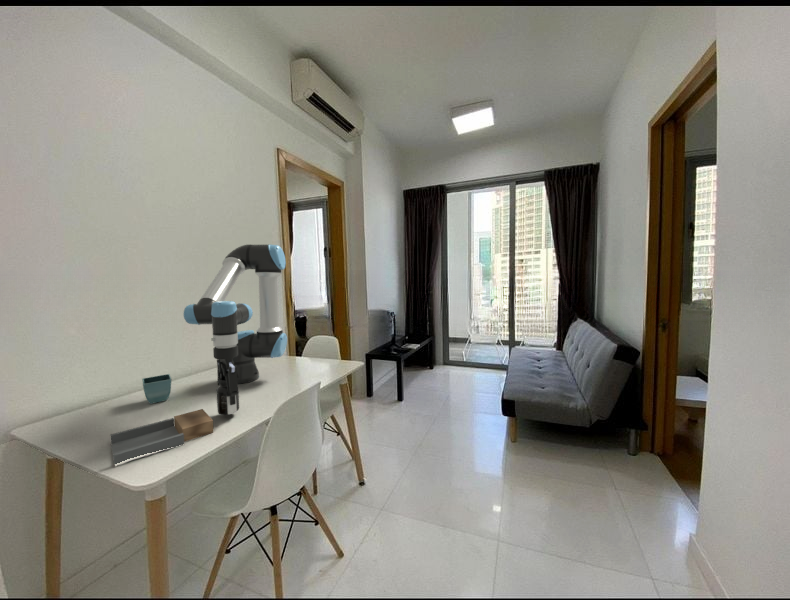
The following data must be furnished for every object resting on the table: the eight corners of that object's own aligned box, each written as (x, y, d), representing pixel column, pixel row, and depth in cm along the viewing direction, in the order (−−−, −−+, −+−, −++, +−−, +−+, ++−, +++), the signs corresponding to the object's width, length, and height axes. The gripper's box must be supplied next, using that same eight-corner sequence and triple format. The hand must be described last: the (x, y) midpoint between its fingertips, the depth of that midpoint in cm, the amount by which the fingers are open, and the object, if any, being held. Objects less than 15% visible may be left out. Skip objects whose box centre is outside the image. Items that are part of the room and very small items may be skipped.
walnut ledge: (202, 420, 104) (202, 408, 104) (213, 432, 95) (212, 420, 95) (174, 428, 98) (174, 416, 98) (182, 442, 90) (182, 429, 89)
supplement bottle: (243, 407, 110) (242, 375, 109) (229, 416, 103) (228, 382, 102) (227, 405, 111) (226, 374, 110) (212, 414, 105) (211, 380, 104)
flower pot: (144, 407, 114) (142, 384, 114) (143, 400, 121) (142, 378, 120) (172, 401, 120) (171, 379, 119) (170, 394, 127) (169, 373, 126)
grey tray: (173, 426, 99) (173, 417, 99) (184, 444, 89) (183, 434, 88) (111, 444, 88) (110, 434, 88) (114, 466, 78) (113, 455, 78)
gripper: (205, 342, 109) (208, 404, 111) (222, 353, 96) (226, 422, 98) (228, 339, 115) (230, 398, 117) (247, 348, 101) (250, 415, 103)
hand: (228, 409), depth 107 cm, fingers closed on supplement bottle, 7 cm apart
